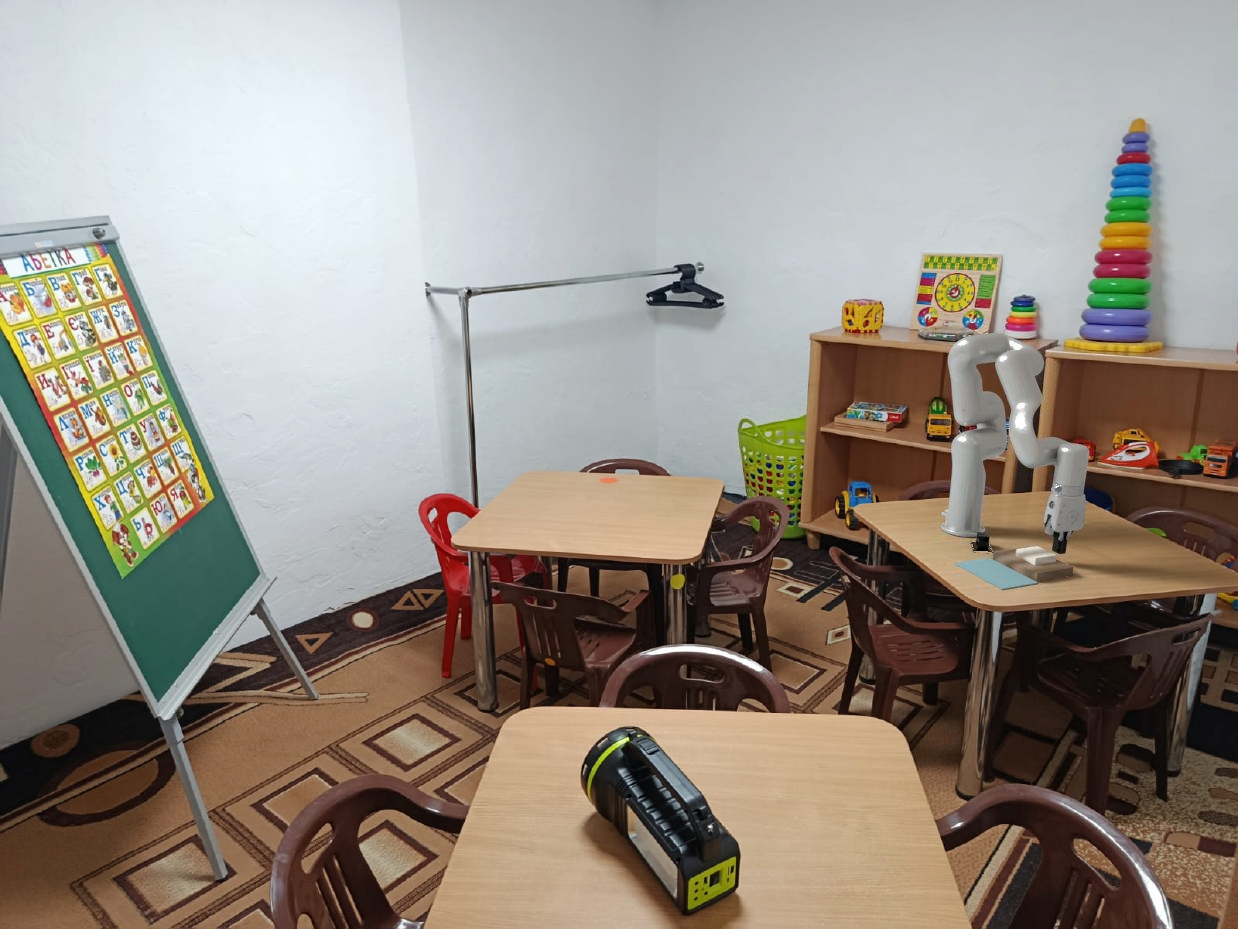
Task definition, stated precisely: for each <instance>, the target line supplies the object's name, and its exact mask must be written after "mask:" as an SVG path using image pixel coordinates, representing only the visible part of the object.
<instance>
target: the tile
mask: <svg viewBox="0 0 1238 929" xmlns="http://www.w3.org/2000/svg"><path fill="white" fill-rule="evenodd" d="M1026 547H1027V546H1026ZM1019 548H1020V547H1019ZM1016 556H1017V557H1019V558H1021V559H1023V560H1025V561H1027V562H1029V563H1032V564H1034V565H1039V564H1045V563H1052V562H1056V559H1057V553H1055V552H1054V553H1053V552H1052V551H1048V550H1047V549H1044V548H1042V547H1041V546H1038V545H1035V546H1029V547H1027V548H1020V549H1016Z"/></svg>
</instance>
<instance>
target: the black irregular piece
mask: <svg viewBox="0 0 1238 929" xmlns="http://www.w3.org/2000/svg"><path fill="white" fill-rule="evenodd" d="M975 539H976V540H975V541H976V542H972V543H970V545H971V544H973V547H972V546H971V549H972V548H974V551H988V552H992V551H993V552H994V549H993V547H992V546H991V547H990V546H989V543H990V535H989V532H986V531H985V532H977V537H975ZM990 548H992V549H993V550H991V549H990ZM993 552H992V553H993Z"/></svg>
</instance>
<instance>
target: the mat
mask: <svg viewBox="0 0 1238 929" xmlns="http://www.w3.org/2000/svg"><path fill="white" fill-rule="evenodd" d="M954 564H955V565H956V566H958V567H960V568H961V569H964V570H965V571H966V572H969V573H970V574H972V575H974V576H976V577H977V578H980V579H981V580H983V581H985V582H987V583H989V584H991V585H992V586H994V587H996V588H998V589H1000V590H1001V591H1003V590H1009V589H1013V588H1020V587H1028V586H1034V585H1038V584H1039V582H1036V581H1034V580H1032V579H1030V578H1028V577H1026V576H1024V575H1022V574H1020V573H1018V572H1016V571H1014V570H1012V569H1011V568H1009V567H1007V566H1005V565H1003V564H1001V563H999V562H997V561H995V560H993V558H991V557H986V558H979V559H972V560H965V561H958V562H954Z"/></svg>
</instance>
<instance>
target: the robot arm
mask: <svg viewBox="0 0 1238 929" xmlns="http://www.w3.org/2000/svg"><path fill="white" fill-rule="evenodd" d="M988 363H989V364H990V363H995V364H994V365H995V370H996V373H997V376H998V379H999V381H1000V384H1001V386H1002V389H1003V391H1004V394H1005V395H1006V400H1007V402H1008V404H1009V407H1010V415H1009V419H1008V420H1009V421H1008V435H1007V421H1006V419H1007V418H1006V411H1005V410H1006V409H1005V405H1004V402H1003V399H1002V398H1001V397H1000V396H999V395H998V394H997V393H995V392H994V391H987V390H986V391H984V387H983V378H982V375H981V373H980V371H979V369H978V367H977V365H981V364H988ZM947 365H948V366H947V367H948V371H949V377H950V383H951V384H950V385H951V396H952V397H951V399H952V409H953V416H954V419H955V422H956V423H957V424H958V425H960V426H964V427H970V426H976V428H974V429H970V430H965V431H962V432H960V433H959V434H957V435H956V436H955V437H954V439H953V440H952V442H951V445H950V447H951V448H950V450H951V452H950V453H951V462H952V464H951V465H952V467H951V480H950V490H949V501H948V508H946V509H945V510H944V511H942V512H941V516H942V517H944V518H945V519H944V520H945V521H943V522H942V523H941V525H940V528H941V530H942V531H943V532H945V533H947V534H949V535H953V536H957V537H963V538H976V537H977V532H986V528H985V527H984V525H982V524H981V522H982V513H983V505H984V504H983V503H984V496H985V488H986V478H987V477H986V476H987V475H986V470H985V466H984V461H986V460H990V459H993V458H996V457H999V456H1001V455H1002V454H1003V453H1004V452H1005V451H1006V448H1007V445H1008V436H1009V440H1010V443H1011V446H1012V448H1013V451H1014V453H1015V455H1016V457H1017V459H1018V461H1019V462H1020V464H1022V465H1023V466H1024V467H1026V468H1028V469H1029V468H1030V469H1039V468H1042V467H1045V466H1047V467H1048V466H1053V465H1054V473H1053V481H1052V486H1051V488H1050V490H1051V493H1050V494H1049V497H1048V500H1047V502H1046V507H1045V511H1044V518H1043V526H1044V528H1045V530H1044V533H1045V535H1046V534H1047V535H1048V536H1051V538H1052V539H1053V540H1052V547H1051V550H1052V551H1051V552H1054V553H1055V554H1058V555H1064V554H1066V552H1067V548H1068V547H1067V546H1068V541H1069V540H1070V538H1071V535H1072V534H1073V533H1074V532H1078V531H1079V530H1081V529H1083V528H1084V526H1085V520H1086V510H1087V509H1086V508H1087V505H1086V503H1087V502H1086V494H1084V490H1085V485H1086V484H1085V483H1086V477H1087V472H1088V471H1087V470H1088V465H1089V458H1090V450H1089V447H1087V446H1086V445H1084V444H1080V443H1074V442H1073V443H1072V442H1068V441H1067V440H1064V439H1062V438H1059V437H1055V436H1049V437H1043V438H1038V439H1037V436H1036V434H1035V430H1034V425H1033V422H1034V421H1033V420H1034V415H1035V413H1036V411H1037V410H1038V408H1039V407H1040V405H1041V404H1042V403H1043V402H1044V397H1043V393H1042V392H1041V389H1040V387H1039V385H1038V381H1037V379H1036V376H1038V375H1039V374H1040V373H1042V372H1043V370H1044V367H1045V366H1044V365H1045V361H1044V357H1043V355H1042V354H1041V352H1040V351H1039V350H1038V349H1036V348H1035V347H1033V346H1031V345H1029V344H1026V343H1024V342H1023V341H1020V340H1018V339H1016V338H1014V337H1013V336H1010V335H1007V334H1005V333H1001V332H992V333H991V332H989V333H983V334H982V333H979V334H973V335H968V336H966V337H962V338H960V339H959V340H958V341H956V342H954V344H953V345H952V347H951V348H950V350H949V352H948V356H947Z"/></svg>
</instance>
